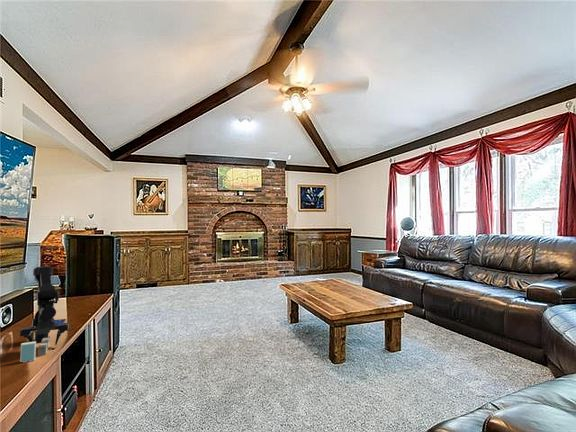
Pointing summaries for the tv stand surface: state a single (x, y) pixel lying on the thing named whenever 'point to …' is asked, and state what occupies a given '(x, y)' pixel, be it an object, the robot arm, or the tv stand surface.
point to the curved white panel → (43, 347)
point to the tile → (28, 351)
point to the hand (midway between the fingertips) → (44, 346)
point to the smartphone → (59, 321)
